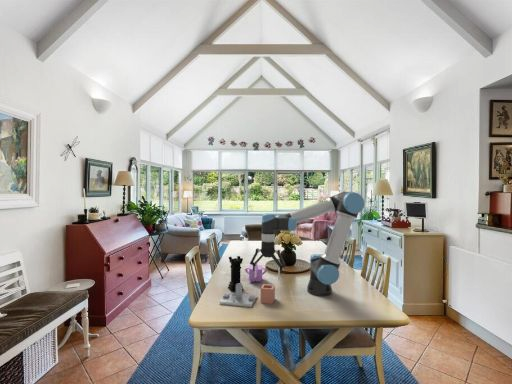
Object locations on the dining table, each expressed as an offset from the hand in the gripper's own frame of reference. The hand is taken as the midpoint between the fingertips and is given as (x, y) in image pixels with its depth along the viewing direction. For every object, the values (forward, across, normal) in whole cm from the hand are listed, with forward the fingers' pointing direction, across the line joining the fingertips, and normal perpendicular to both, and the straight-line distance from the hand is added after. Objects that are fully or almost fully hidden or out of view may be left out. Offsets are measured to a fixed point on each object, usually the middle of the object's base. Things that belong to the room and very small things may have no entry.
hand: (267, 277), depth 161 cm
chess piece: (+14, +22, -13) cm, 29 cm away
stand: (+13, +15, +4) cm, 21 cm away
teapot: (+13, +13, -32) cm, 37 cm away
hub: (+13, -1, 0) cm, 13 cm away
